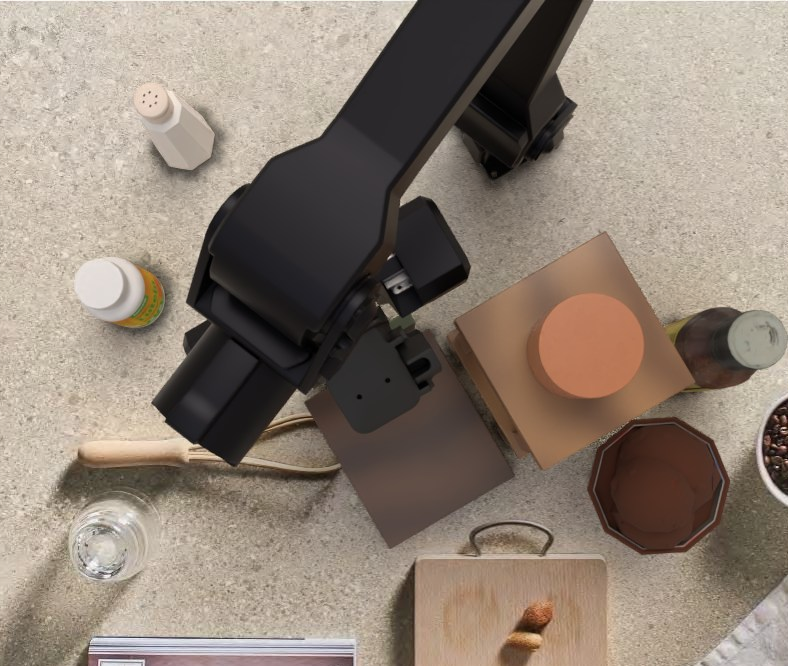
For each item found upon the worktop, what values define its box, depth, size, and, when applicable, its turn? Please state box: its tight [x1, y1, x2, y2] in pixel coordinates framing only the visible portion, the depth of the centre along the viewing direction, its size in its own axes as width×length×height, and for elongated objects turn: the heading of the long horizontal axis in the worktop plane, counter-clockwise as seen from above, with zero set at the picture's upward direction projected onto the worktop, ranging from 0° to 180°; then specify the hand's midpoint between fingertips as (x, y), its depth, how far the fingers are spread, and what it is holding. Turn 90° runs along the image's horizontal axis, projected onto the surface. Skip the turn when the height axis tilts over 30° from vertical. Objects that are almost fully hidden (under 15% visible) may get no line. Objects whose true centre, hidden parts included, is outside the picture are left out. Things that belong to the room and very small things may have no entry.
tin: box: [527, 293, 644, 399], centre depth 52 cm, size 6×6×5 cm
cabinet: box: [303, 328, 516, 550], centre depth 74 cm, size 14×12×9 cm
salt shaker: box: [132, 81, 216, 171], centre depth 74 cm, size 5×5×11 cm
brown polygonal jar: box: [586, 416, 731, 556], centre depth 71 cm, size 11×11×15 cm
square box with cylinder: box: [445, 230, 695, 472], centre depth 67 cm, size 11×11×24 cm
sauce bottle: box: [663, 306, 788, 393], centre depth 68 cm, size 7×6×20 cm
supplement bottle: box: [73, 255, 166, 329], centre depth 74 cm, size 5×5×10 cm
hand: (337, 319), depth 66 cm, fingers open, 6 cm apart
